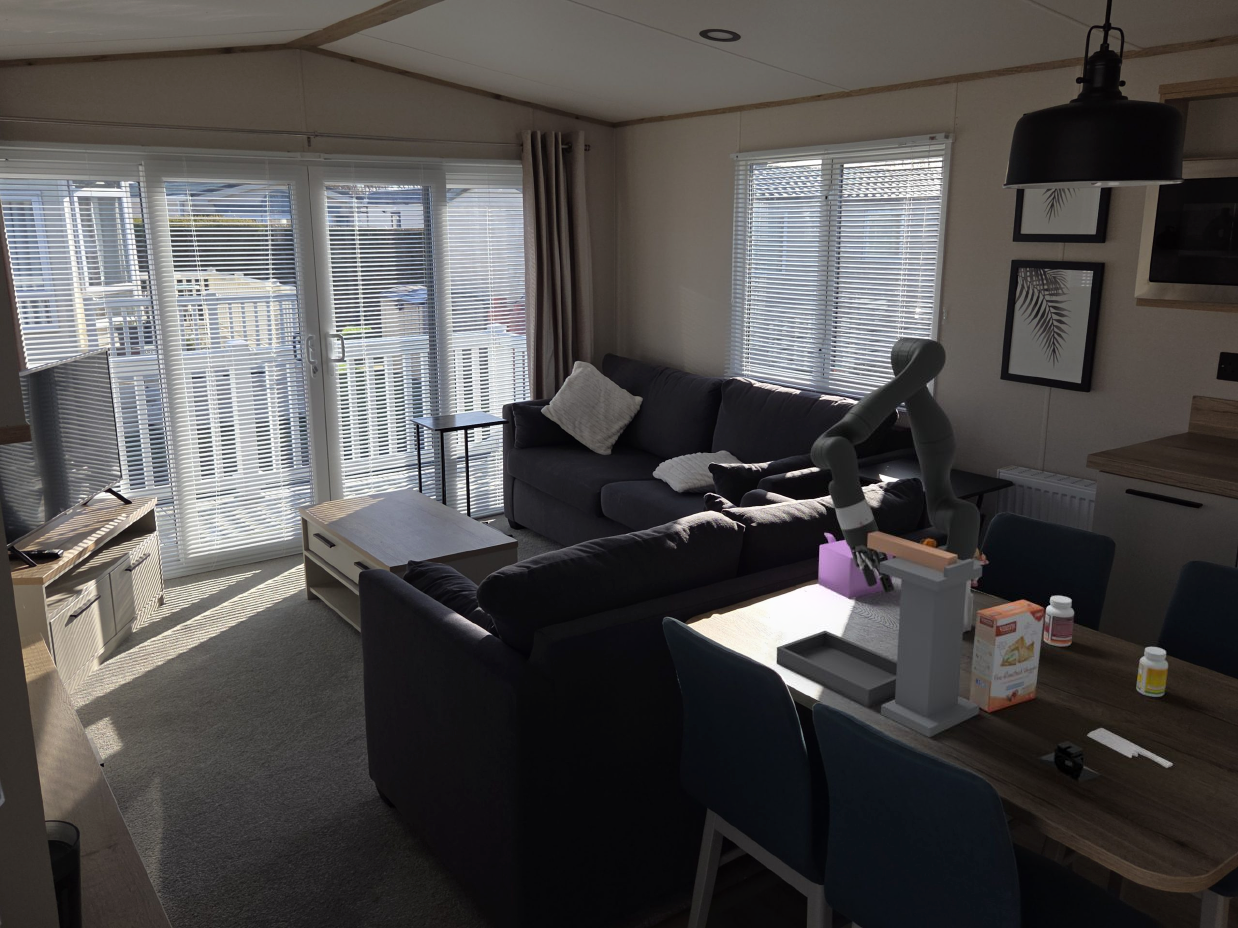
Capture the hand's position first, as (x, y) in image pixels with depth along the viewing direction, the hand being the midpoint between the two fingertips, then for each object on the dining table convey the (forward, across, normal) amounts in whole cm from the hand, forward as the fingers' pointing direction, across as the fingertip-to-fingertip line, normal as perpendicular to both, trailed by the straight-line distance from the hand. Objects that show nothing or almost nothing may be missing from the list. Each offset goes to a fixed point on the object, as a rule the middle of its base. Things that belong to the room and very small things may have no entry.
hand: (880, 588), depth 220 cm
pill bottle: (+32, +7, -40) cm, 52 cm away
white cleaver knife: (+36, -40, -20) cm, 57 cm away
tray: (+15, +1, +14) cm, 21 cm away
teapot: (+14, +53, -12) cm, 56 cm away
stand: (+22, -18, +7) cm, 29 cm away
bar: (-10, -19, -1) cm, 21 cm away
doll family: (+23, +49, -36) cm, 65 cm away
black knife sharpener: (+32, -42, -6) cm, 54 cm away
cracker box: (+28, -17, -10) cm, 34 cm away
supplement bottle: (+38, -20, -42) cm, 60 cm away
